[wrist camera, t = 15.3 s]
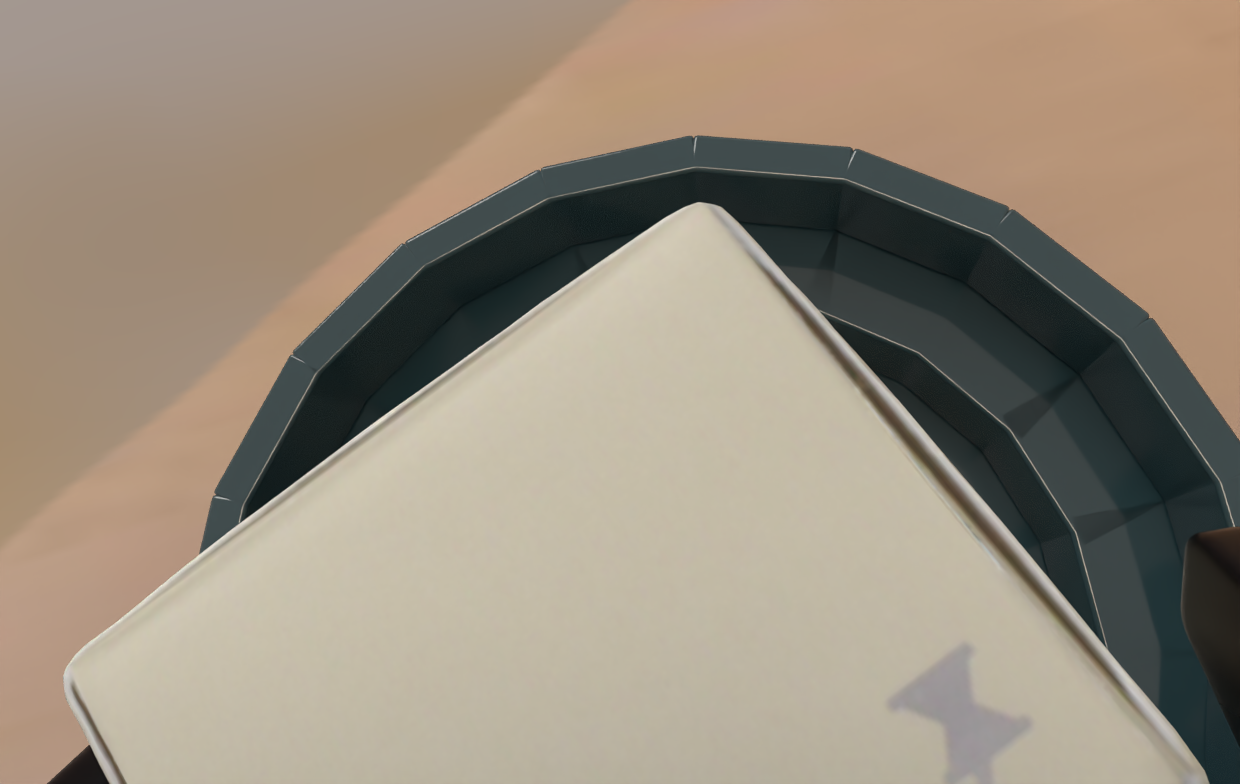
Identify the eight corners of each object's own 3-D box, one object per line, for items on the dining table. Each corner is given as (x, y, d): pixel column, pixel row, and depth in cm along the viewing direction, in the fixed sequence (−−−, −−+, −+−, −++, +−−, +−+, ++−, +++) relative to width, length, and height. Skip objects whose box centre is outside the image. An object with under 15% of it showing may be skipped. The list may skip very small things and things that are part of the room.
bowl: (1309, 1082, 16) (1509, 1248, 12) (351, 1194, 17) (210, 1378, 13) (1048, 171, 20) (1125, 40, 15) (279, 329, 21) (151, 250, 17)
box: (765, 467, 19) (744, 121, 6) (926, 678, 17) (1305, 778, 5) (521, 645, 18) (3, 657, 6) (668, 870, 17) (397, 1457, 5)
